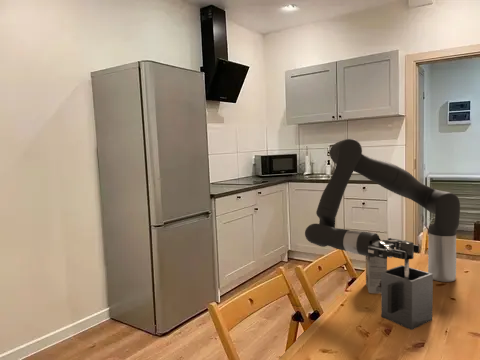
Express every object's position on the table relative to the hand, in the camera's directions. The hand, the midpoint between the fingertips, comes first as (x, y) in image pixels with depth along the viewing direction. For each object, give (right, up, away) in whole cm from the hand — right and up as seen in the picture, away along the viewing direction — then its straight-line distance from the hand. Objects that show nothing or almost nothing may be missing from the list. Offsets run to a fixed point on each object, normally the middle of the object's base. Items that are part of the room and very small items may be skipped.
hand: (412, 252), depth 109 cm
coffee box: (-1, -18, +26) cm, 32 cm away
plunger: (0, -18, +3) cm, 19 cm away
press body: (-2, -20, +2) cm, 21 cm away
